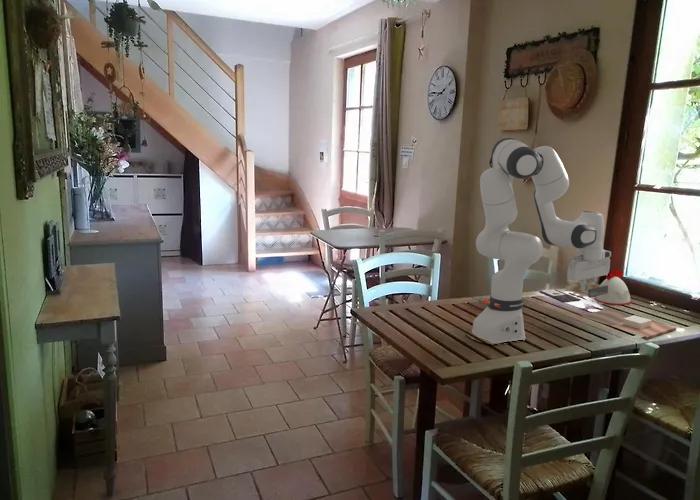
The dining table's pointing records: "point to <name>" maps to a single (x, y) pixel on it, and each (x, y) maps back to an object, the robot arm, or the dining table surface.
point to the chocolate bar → (559, 295)
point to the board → (616, 320)
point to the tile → (637, 322)
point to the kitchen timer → (615, 290)
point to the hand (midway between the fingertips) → (587, 289)
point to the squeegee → (591, 290)
